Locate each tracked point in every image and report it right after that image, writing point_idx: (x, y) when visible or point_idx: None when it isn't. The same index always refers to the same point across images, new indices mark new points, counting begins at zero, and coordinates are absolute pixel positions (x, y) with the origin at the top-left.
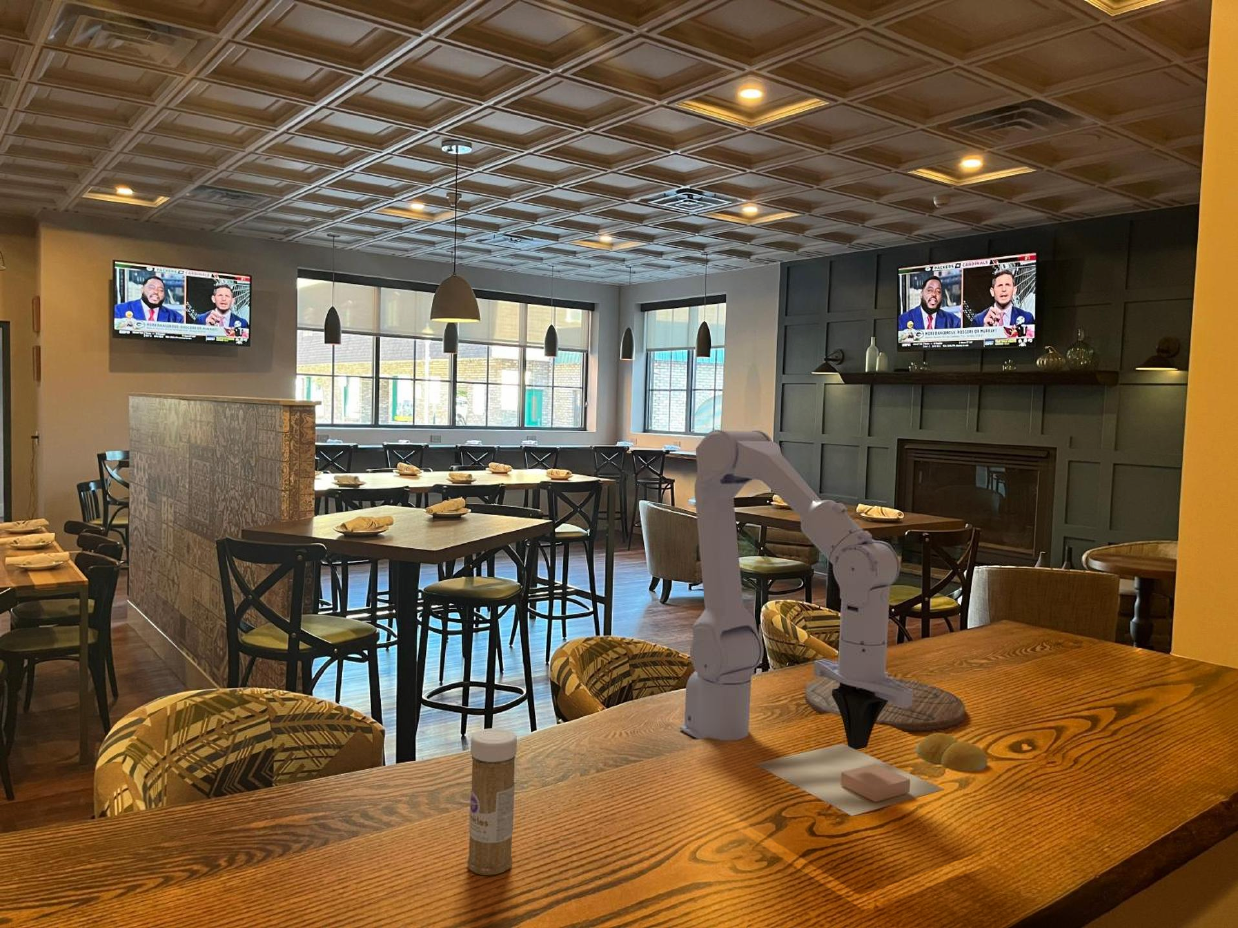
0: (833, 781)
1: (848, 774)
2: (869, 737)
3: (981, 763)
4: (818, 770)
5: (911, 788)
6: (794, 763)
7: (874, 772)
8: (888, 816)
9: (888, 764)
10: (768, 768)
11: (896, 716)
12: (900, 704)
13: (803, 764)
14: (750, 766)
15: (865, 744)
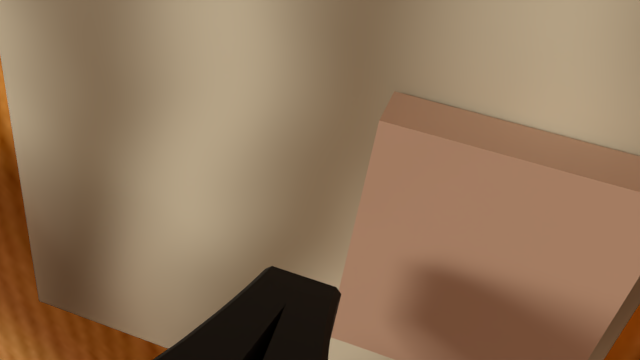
0: (297, 266)
1: (365, 340)
2: (329, 333)
3: None
4: (185, 208)
5: None
6: (88, 208)
7: (447, 246)
8: (619, 337)
9: None
10: (89, 306)
11: None
12: None
13: (111, 195)
14: (21, 256)
15: (333, 321)
